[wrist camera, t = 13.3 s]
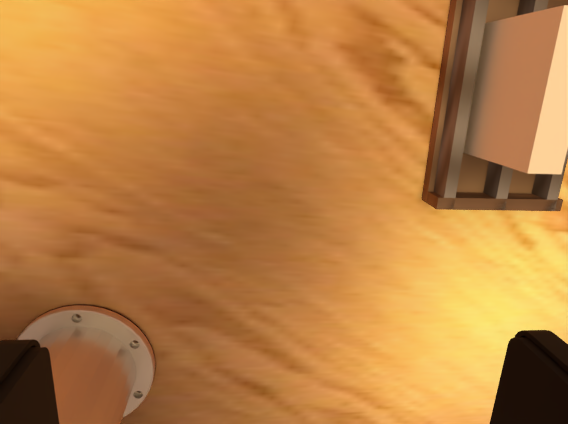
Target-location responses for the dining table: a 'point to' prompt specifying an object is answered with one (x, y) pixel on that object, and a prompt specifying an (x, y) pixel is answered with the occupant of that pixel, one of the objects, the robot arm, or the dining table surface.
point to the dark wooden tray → (455, 115)
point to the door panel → (522, 93)
